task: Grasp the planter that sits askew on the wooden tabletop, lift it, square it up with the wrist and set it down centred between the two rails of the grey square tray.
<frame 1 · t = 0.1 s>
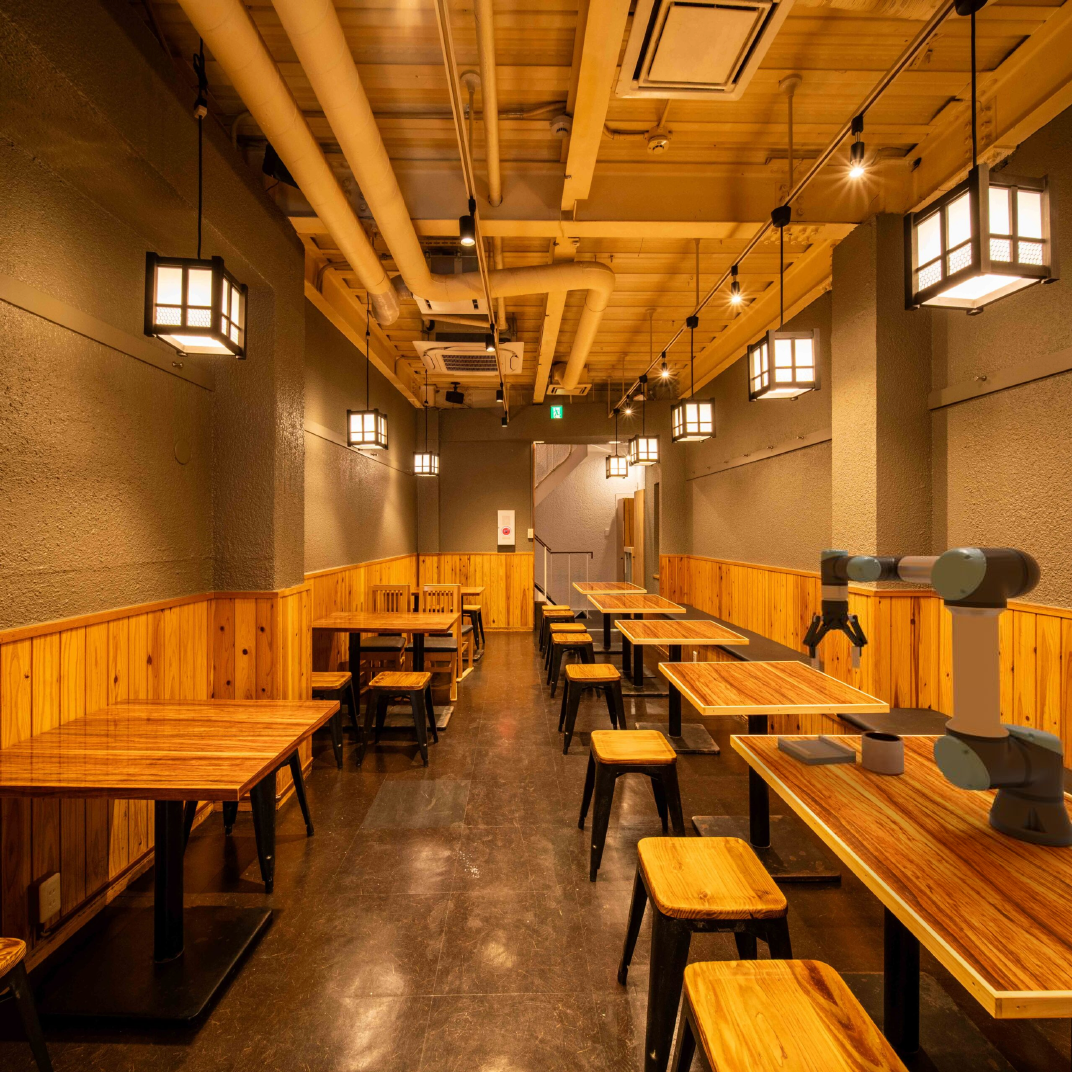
hand: (835, 668, 183), 28 cm above the table, fingers open, 13 cm apart
planter: (882, 769, 174), on the table
grey square tray: (815, 754, 186), on the table
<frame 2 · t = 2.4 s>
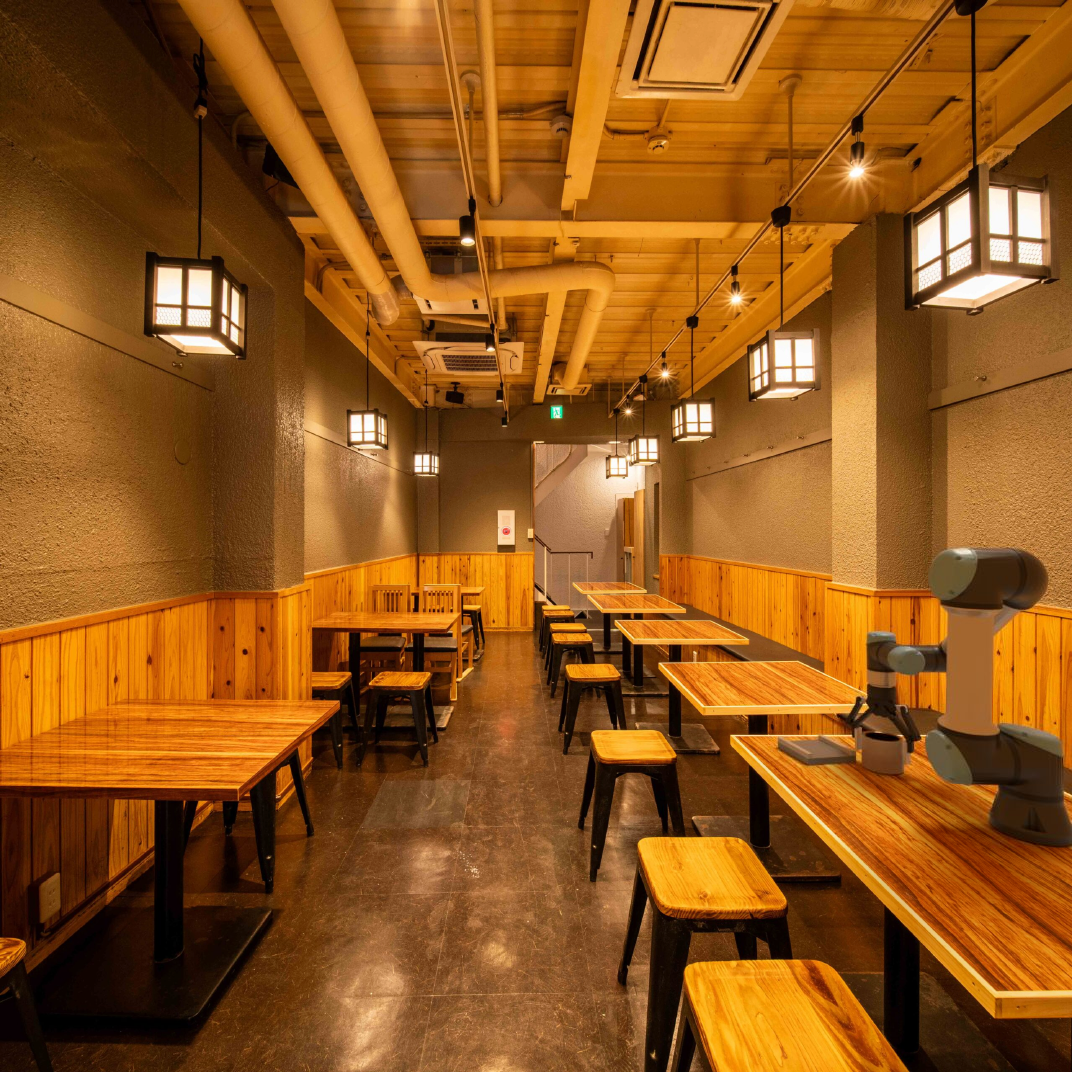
hand: (881, 756, 175), 3 cm above the table, fingers open, 13 cm apart
nothing on the table moved.
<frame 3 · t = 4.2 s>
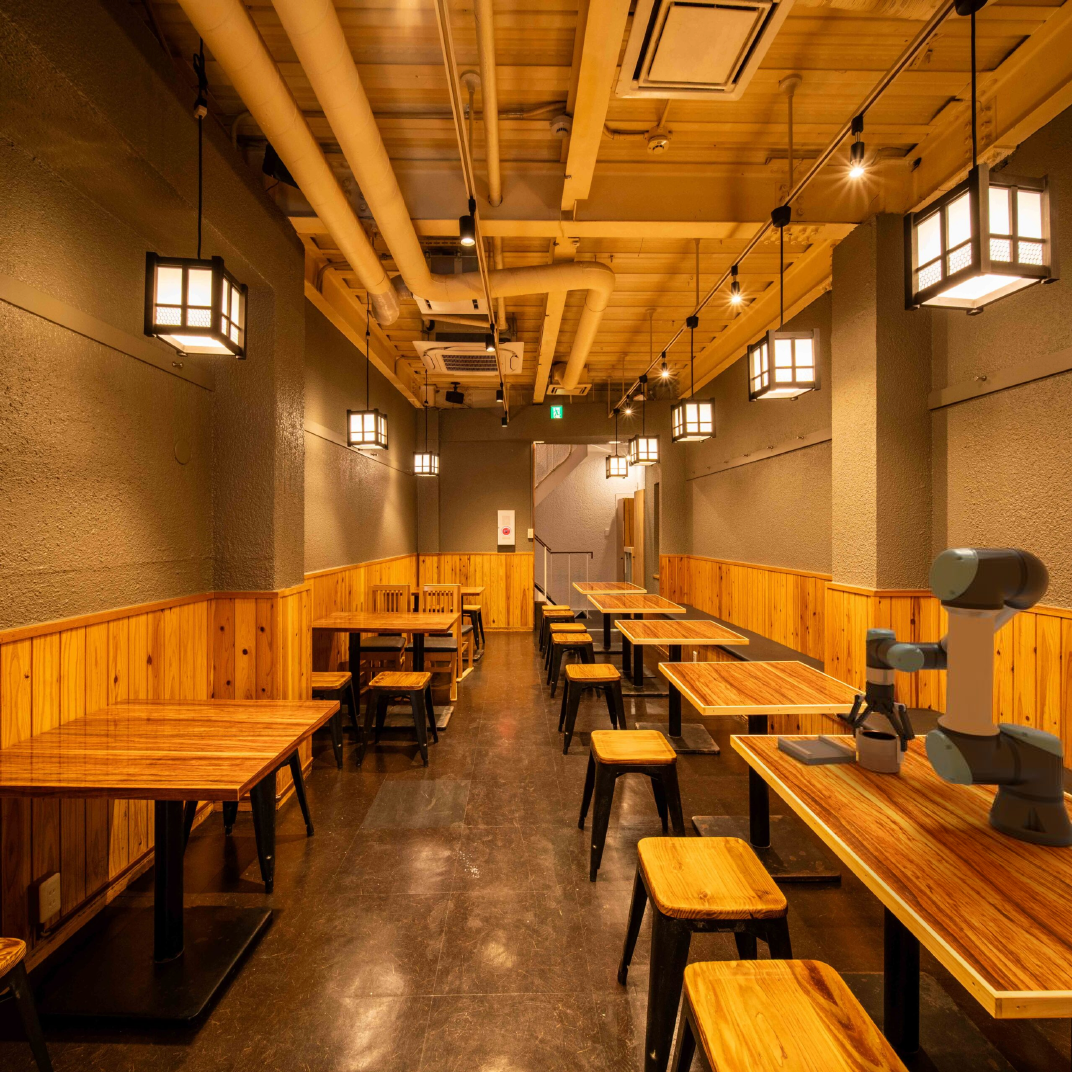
hand: (879, 755, 175), 3 cm above the table, fingers closed on planter, 11 cm apart
planter: (879, 768, 175), on the table, touching gripper
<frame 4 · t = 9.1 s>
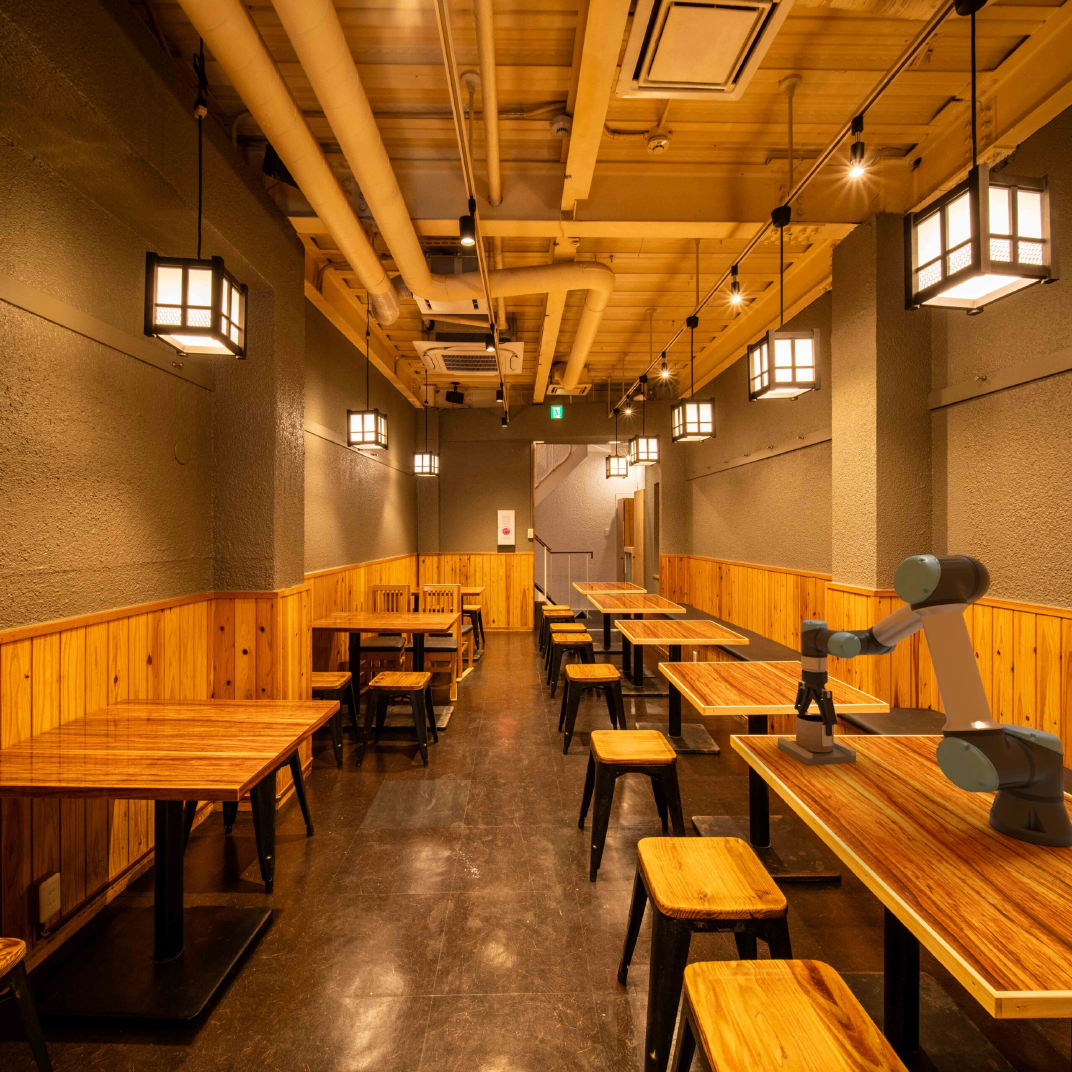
hand: (815, 739, 186), 5 cm above the table, fingers closed on planter, 11 cm apart
planter: (814, 748, 186), point 2 cm above the table, touching gripper, grey square tray
when the fingers open (5 cm above the table, at t = 9.9 s): planter stays where it is, resting on grey square tray.
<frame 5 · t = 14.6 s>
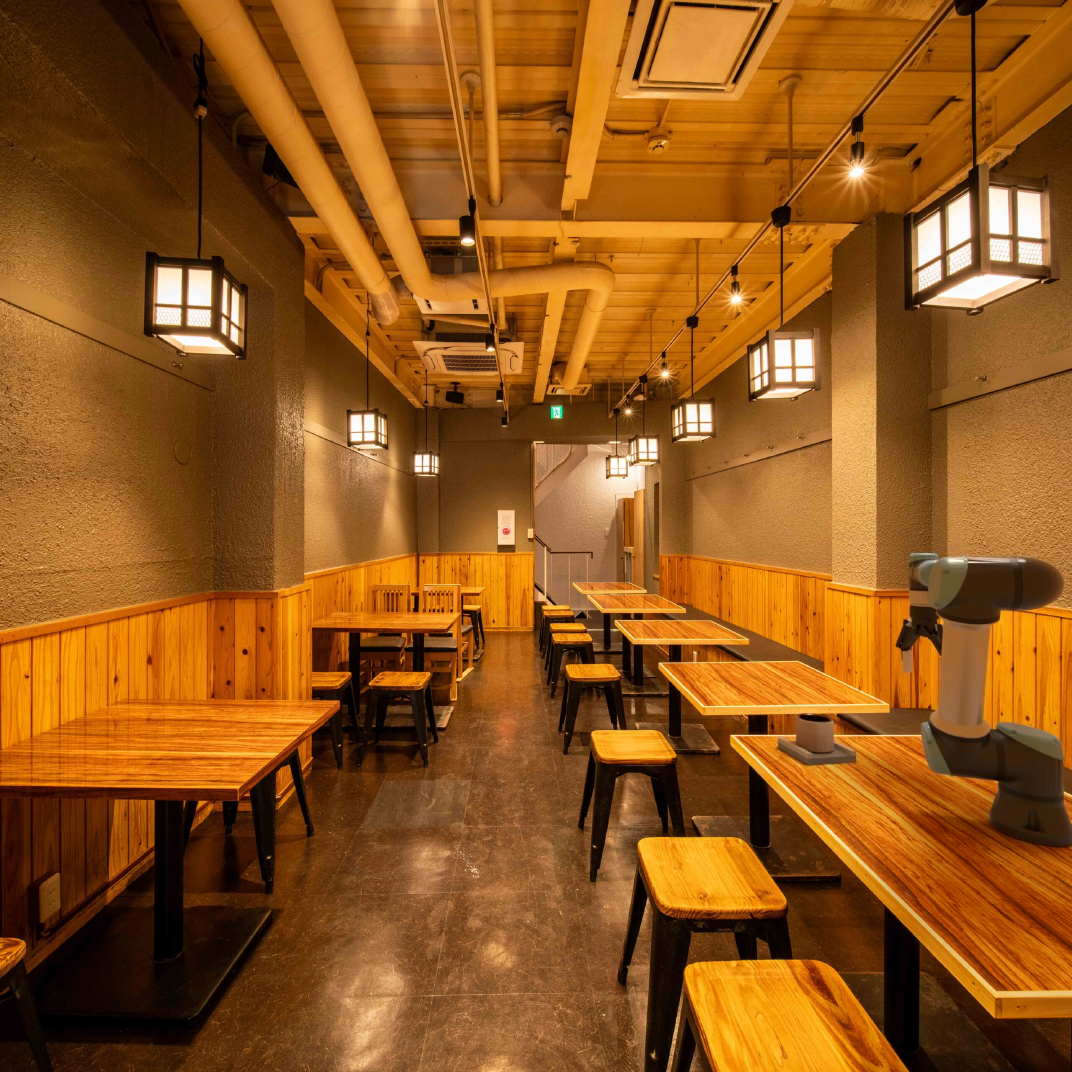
hand: (925, 677, 175), 27 cm above the table, fingers open, 13 cm apart
planter: (814, 748, 186), point 2 cm above the table, touching grey square tray
at the end: planter inside the target area on the grey square tray (0.2 cm from its centre), point 1.8 cm above the grey square tray's base; planter tilted 0°; the gripper is holding nothing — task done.
